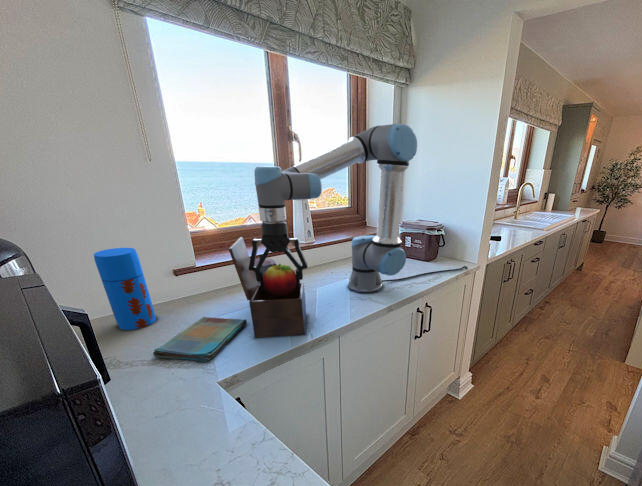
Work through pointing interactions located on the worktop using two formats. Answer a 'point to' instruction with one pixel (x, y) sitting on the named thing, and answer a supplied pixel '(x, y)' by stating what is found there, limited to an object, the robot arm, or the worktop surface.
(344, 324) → the worktop surface
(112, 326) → the worktop surface
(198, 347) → the dish towel
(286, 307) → the chest
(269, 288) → the fruit
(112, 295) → the thermos
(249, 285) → the chest lid
